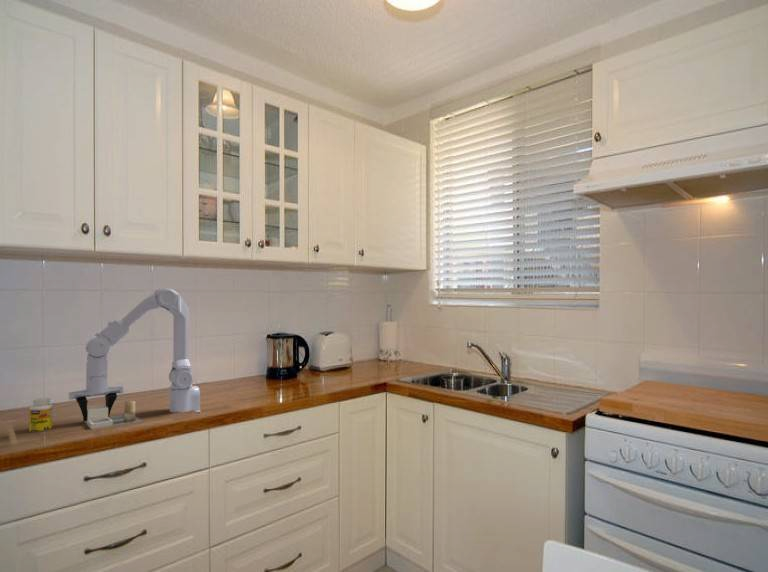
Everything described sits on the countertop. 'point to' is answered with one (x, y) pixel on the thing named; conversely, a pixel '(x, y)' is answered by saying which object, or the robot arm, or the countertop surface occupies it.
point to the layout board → (109, 422)
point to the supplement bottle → (40, 415)
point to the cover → (97, 412)
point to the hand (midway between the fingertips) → (96, 418)
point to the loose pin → (129, 411)
